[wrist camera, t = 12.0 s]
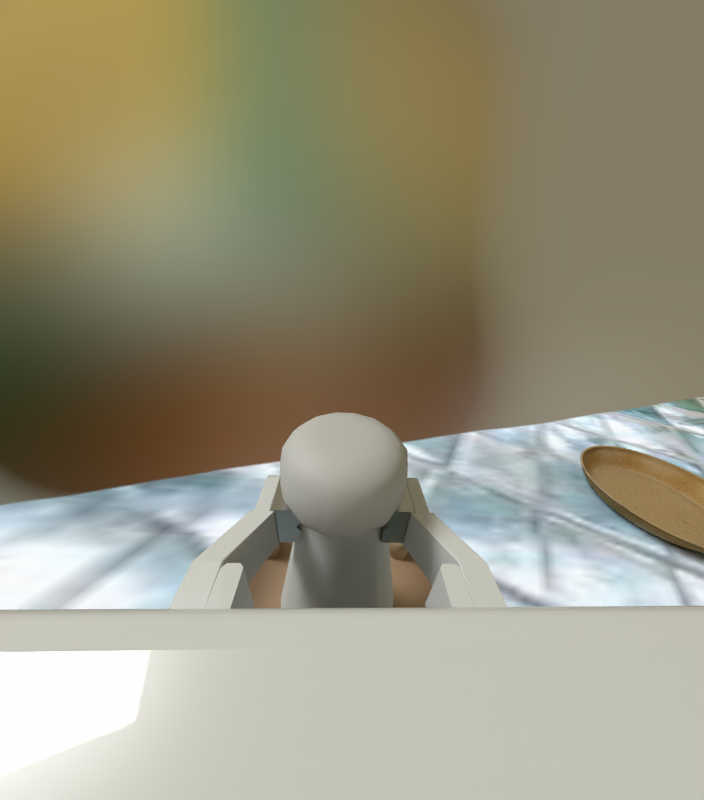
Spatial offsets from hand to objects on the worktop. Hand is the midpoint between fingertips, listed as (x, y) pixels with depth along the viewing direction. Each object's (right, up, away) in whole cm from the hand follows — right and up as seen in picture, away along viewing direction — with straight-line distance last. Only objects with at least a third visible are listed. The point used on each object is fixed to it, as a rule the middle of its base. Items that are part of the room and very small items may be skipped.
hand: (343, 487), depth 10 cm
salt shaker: (-1, -9, +4) cm, 10 cm away
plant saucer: (+35, -9, +19) cm, 40 cm away
